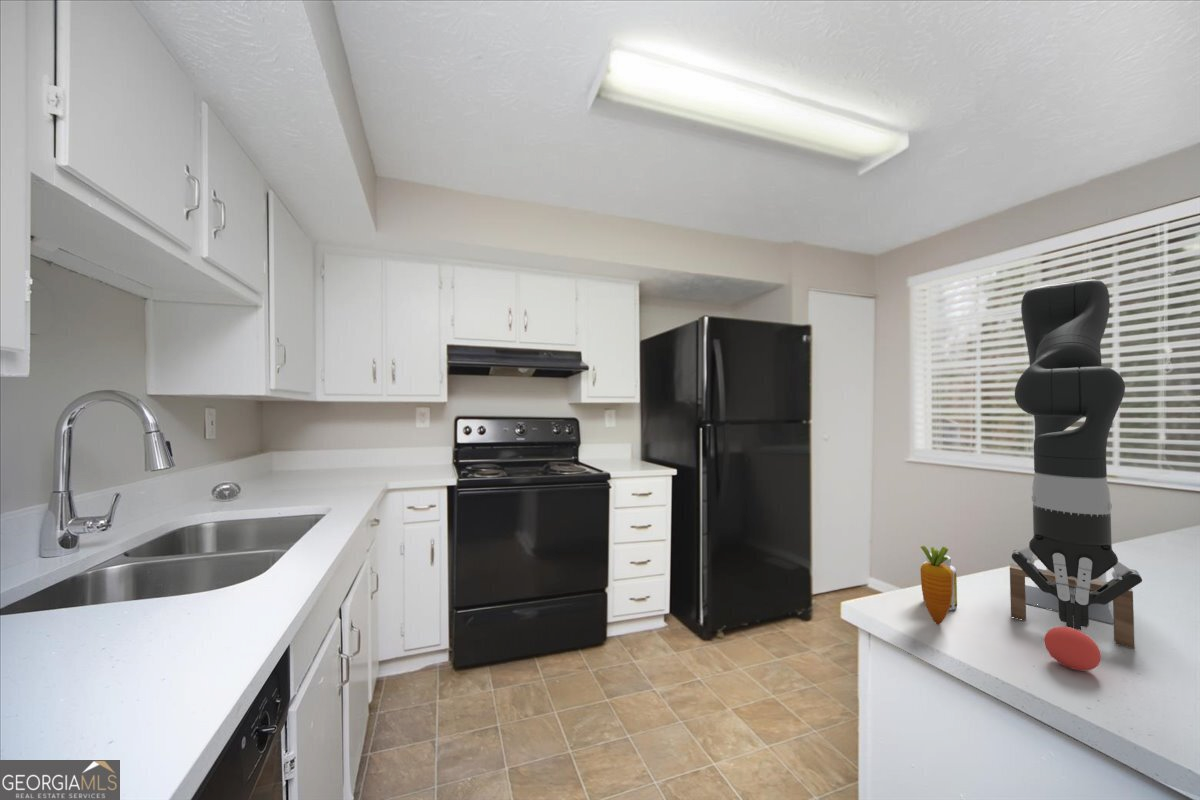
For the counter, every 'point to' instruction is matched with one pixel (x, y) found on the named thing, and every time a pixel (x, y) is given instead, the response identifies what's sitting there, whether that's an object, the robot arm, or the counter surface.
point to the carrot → (936, 584)
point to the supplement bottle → (954, 591)
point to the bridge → (1121, 604)
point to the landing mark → (1051, 602)
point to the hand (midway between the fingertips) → (1073, 626)
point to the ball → (1072, 648)
